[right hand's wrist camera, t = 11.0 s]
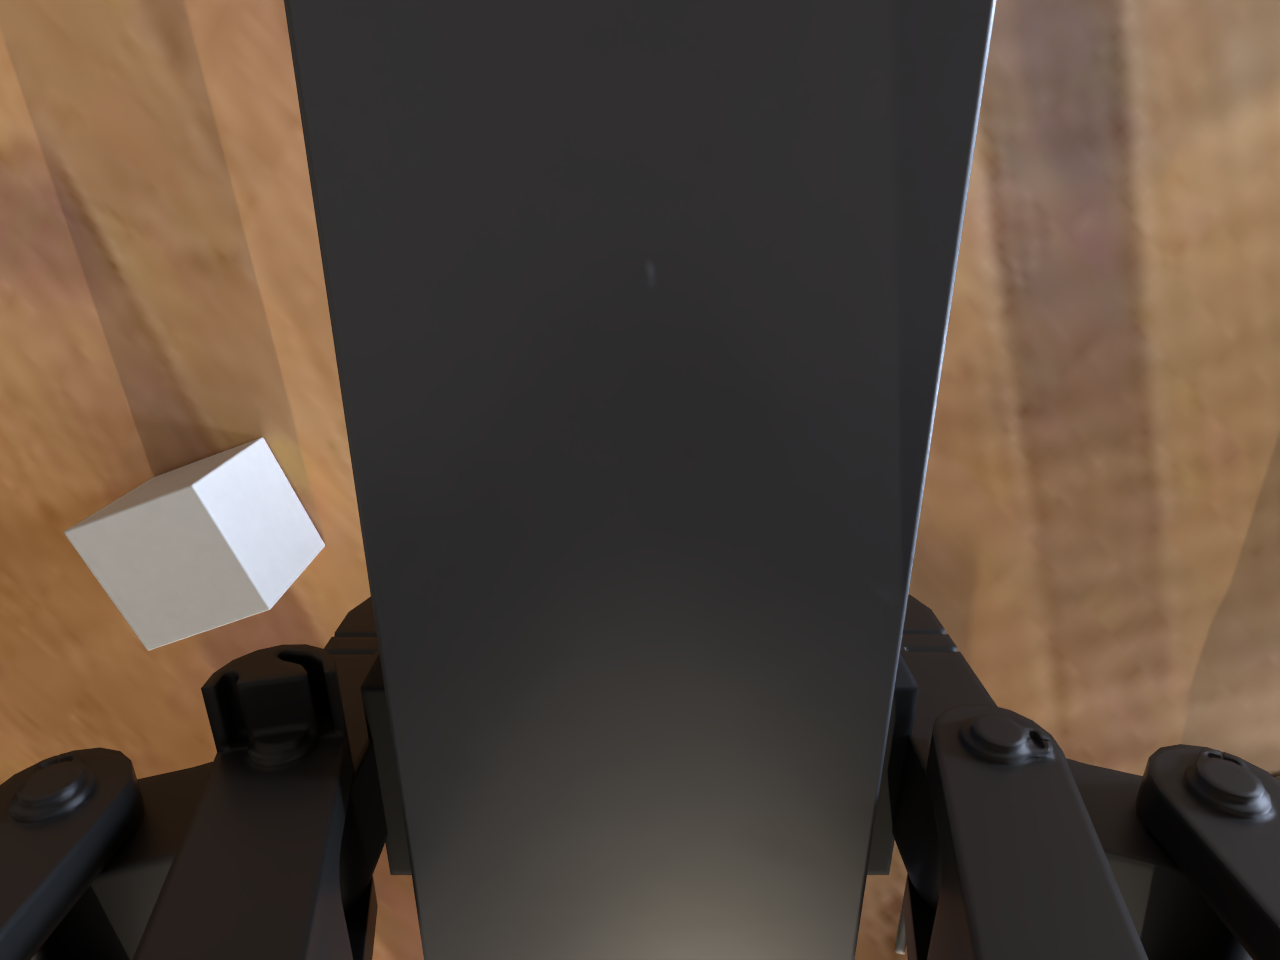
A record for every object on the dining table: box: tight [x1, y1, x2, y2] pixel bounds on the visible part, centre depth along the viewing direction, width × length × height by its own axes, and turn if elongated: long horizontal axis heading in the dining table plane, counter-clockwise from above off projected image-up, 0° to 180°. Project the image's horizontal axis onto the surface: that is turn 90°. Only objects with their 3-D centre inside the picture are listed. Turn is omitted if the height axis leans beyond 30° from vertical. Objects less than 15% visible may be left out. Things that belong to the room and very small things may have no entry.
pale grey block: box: [64, 437, 325, 650], centre depth 28 cm, size 5×5×5 cm
